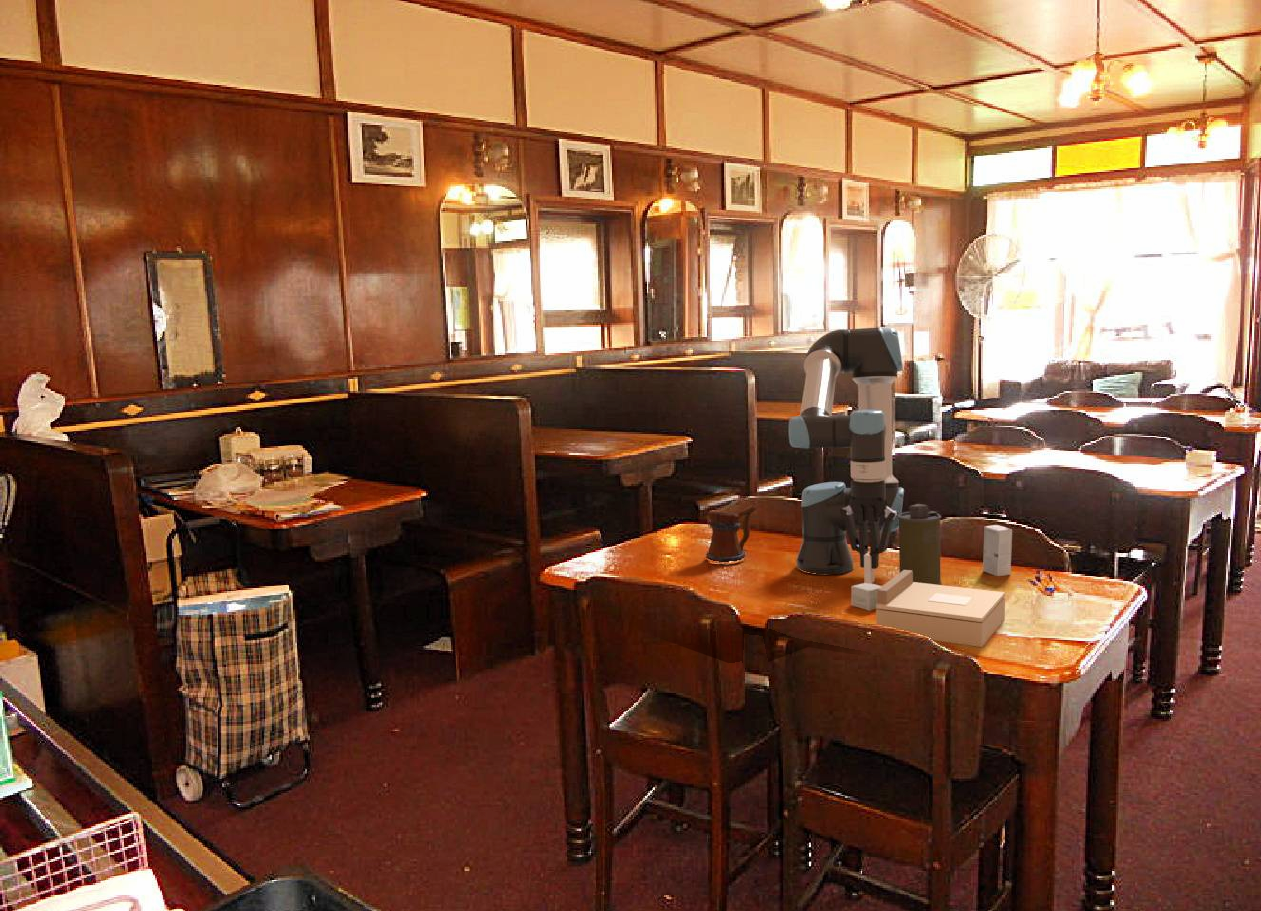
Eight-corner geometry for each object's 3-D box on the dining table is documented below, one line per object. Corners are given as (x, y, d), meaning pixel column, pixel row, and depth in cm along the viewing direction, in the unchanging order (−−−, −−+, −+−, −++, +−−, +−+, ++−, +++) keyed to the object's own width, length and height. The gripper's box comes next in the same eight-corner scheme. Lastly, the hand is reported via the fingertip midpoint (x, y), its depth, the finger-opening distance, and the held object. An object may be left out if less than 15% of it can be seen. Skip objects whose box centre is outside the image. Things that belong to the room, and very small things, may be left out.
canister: (919, 590, 230) (918, 511, 227) (889, 581, 239) (888, 504, 236) (951, 583, 235) (951, 505, 232) (921, 574, 244) (920, 499, 241)
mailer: (876, 631, 202) (876, 609, 201) (905, 606, 218) (905, 585, 217) (982, 647, 189) (982, 623, 189) (1004, 619, 206) (1004, 597, 205)
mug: (741, 549, 280) (739, 500, 278) (769, 555, 271) (768, 505, 269) (697, 561, 269) (695, 510, 267) (725, 568, 260) (723, 515, 258)
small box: (885, 606, 219) (885, 586, 219) (868, 611, 216) (868, 590, 215) (867, 601, 224) (867, 581, 223) (850, 605, 221) (850, 585, 220)
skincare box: (982, 571, 244) (982, 526, 242) (996, 569, 245) (996, 524, 243) (997, 577, 238) (998, 530, 236) (1012, 574, 239) (1012, 528, 238)
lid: (876, 608, 201) (875, 591, 200) (905, 584, 217) (905, 568, 217) (982, 622, 189) (982, 603, 188) (1004, 595, 205) (1005, 579, 204)
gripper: (833, 480, 209) (836, 582, 212) (891, 483, 202) (892, 589, 205) (846, 475, 215) (848, 574, 218) (902, 478, 208) (903, 580, 211)
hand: (869, 581), depth 211 cm, fingers closed
